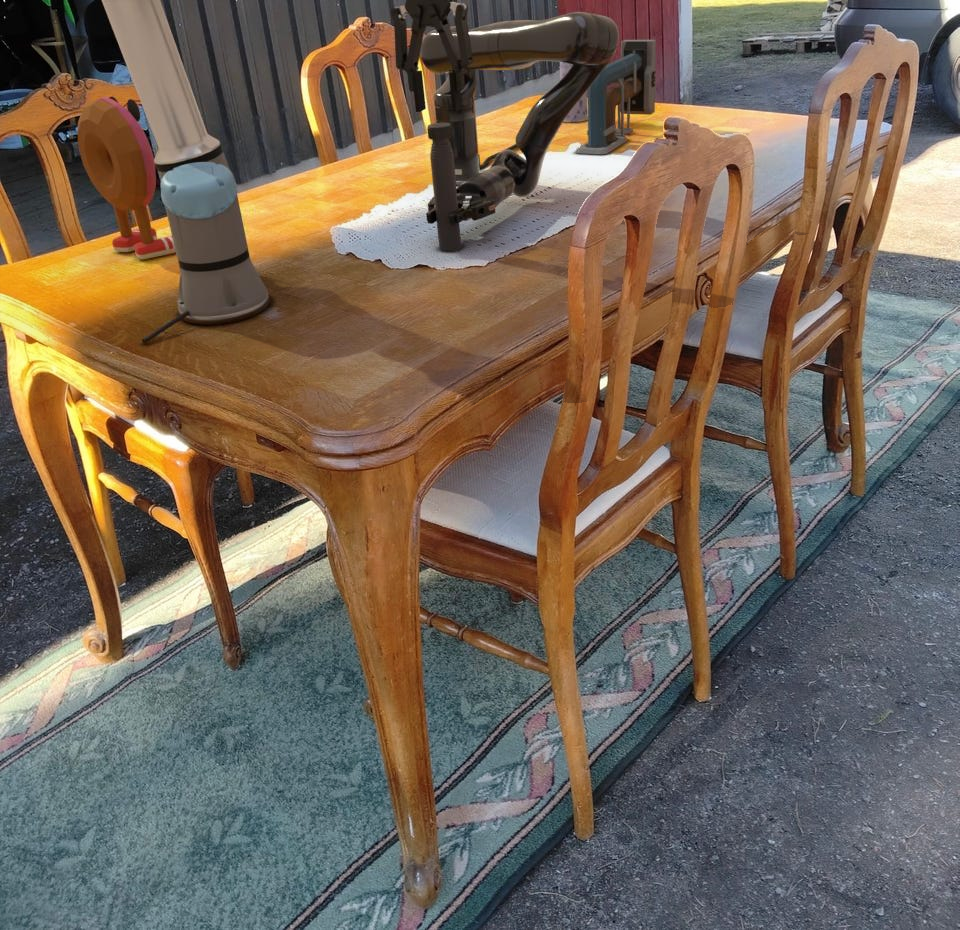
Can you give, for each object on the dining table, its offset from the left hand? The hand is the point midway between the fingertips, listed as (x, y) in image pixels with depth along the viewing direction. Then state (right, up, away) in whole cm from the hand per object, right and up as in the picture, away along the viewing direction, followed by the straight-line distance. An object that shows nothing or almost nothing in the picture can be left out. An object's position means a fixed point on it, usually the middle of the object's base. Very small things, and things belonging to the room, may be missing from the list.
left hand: (438, 110), depth 173 cm
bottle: (+2, -22, +13) cm, 25 cm away
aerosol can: (+34, +36, +105) cm, 116 cm away
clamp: (+43, +22, +81) cm, 95 cm away
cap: (0, -2, +1) cm, 3 cm away
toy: (-61, -19, +26) cm, 69 cm away
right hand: (0, -18, +8) cm, 19 cm away
